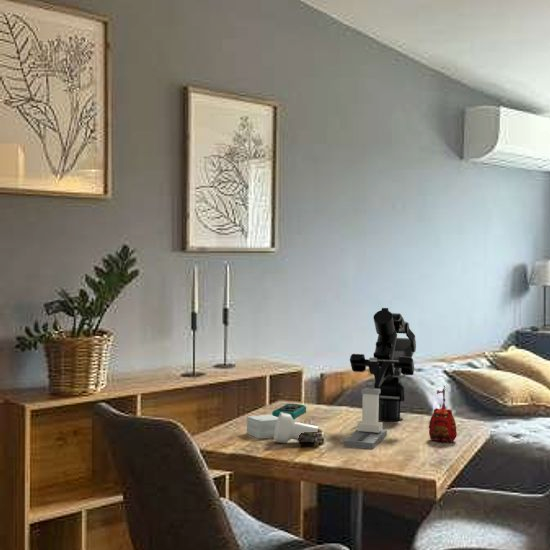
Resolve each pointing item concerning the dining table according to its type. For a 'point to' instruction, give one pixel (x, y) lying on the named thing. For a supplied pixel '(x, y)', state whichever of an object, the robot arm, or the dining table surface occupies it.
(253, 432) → the small box
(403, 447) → the dining table surface
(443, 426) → the red clay folk toy
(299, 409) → the digital multimeter
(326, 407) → the dining table surface
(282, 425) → the spotlight
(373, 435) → the fader console
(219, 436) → the dining table surface
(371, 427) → the fader tab
